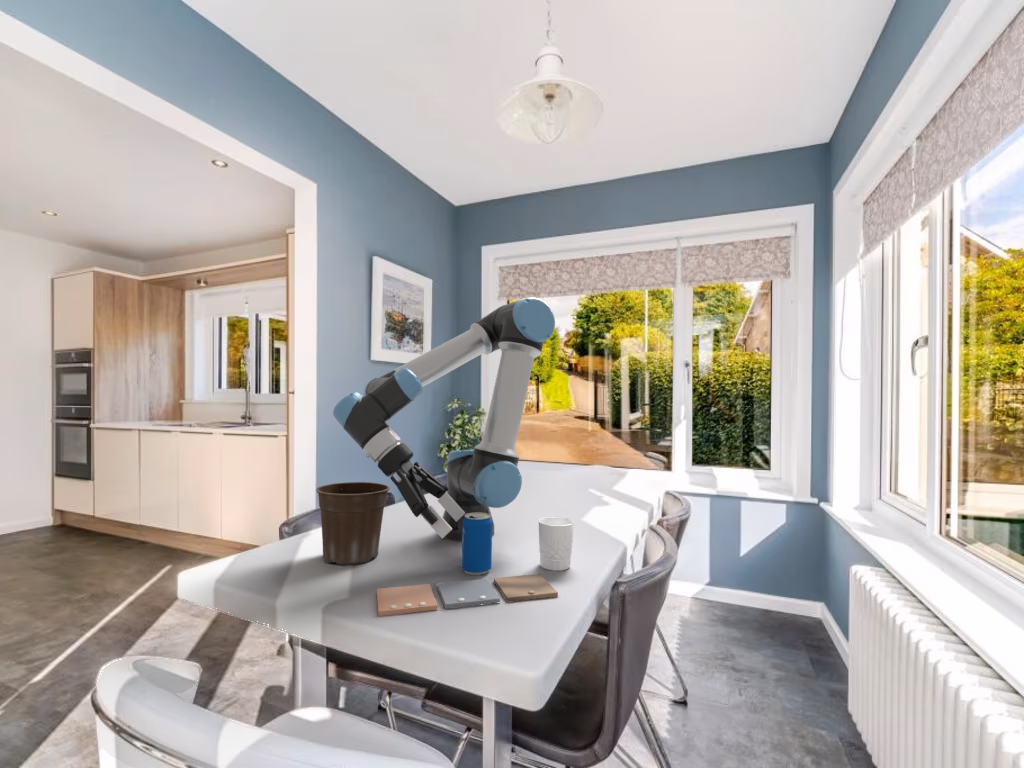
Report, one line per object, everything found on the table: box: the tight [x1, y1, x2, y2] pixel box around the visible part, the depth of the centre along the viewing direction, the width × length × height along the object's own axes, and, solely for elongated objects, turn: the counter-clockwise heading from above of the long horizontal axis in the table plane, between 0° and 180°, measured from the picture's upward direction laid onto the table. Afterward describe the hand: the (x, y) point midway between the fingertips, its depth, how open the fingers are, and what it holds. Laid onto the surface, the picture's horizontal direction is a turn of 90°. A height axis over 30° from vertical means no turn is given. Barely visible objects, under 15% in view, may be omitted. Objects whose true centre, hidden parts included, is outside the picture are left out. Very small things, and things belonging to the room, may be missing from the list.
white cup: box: [538, 516, 574, 572], centre depth 110 cm, size 8×8×10 cm
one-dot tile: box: [493, 573, 559, 602], centre depth 96 cm, size 10×10×1 cm
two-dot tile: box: [436, 578, 501, 610], centre depth 92 cm, size 10×10×1 cm
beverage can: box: [461, 512, 493, 576], centre depth 105 cm, size 6×6×12 cm
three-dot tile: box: [376, 583, 438, 617], centre depth 89 cm, size 10×10×1 cm
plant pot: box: [315, 481, 391, 566], centre depth 113 cm, size 16×16×16 cm
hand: (454, 525), depth 105 cm, fingers open, 13 cm apart
